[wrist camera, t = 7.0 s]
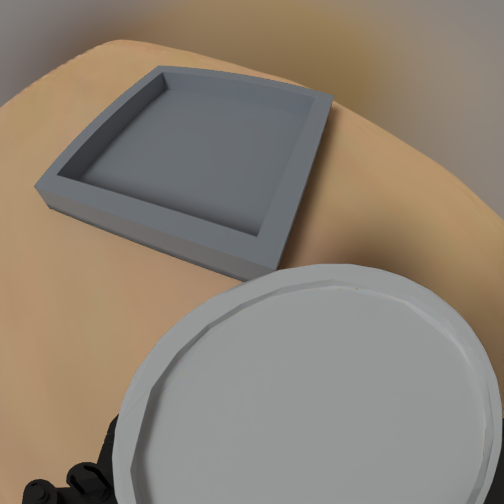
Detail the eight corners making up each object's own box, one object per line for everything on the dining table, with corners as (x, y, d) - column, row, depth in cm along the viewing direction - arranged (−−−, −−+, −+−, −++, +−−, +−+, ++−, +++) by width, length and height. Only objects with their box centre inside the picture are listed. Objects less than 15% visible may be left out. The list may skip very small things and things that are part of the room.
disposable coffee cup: (202, 510, 12) (151, 636, 1) (179, 360, 16) (83, 267, 6) (364, 479, 13) (513, 526, 2) (337, 337, 17) (458, 227, 7)
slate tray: (327, 118, 28) (333, 95, 25) (270, 290, 19) (275, 269, 16) (161, 86, 31) (158, 65, 28) (49, 208, 21) (33, 186, 19)
